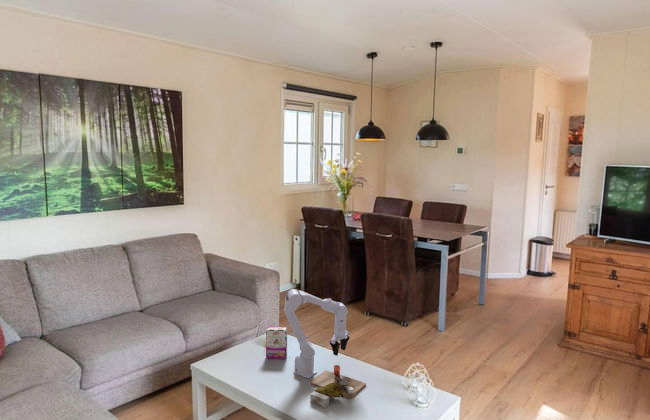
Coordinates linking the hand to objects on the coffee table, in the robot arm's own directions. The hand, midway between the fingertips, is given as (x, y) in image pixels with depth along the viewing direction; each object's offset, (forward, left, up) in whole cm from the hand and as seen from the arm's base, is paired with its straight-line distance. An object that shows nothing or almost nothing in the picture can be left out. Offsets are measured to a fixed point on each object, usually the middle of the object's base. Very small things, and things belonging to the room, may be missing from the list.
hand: (339, 352), depth 236 cm
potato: (+10, -26, -10) cm, 30 cm away
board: (+7, -20, -10) cm, 23 cm away
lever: (+10, -13, -8) cm, 19 cm away
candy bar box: (-36, -6, -10) cm, 38 cm away
